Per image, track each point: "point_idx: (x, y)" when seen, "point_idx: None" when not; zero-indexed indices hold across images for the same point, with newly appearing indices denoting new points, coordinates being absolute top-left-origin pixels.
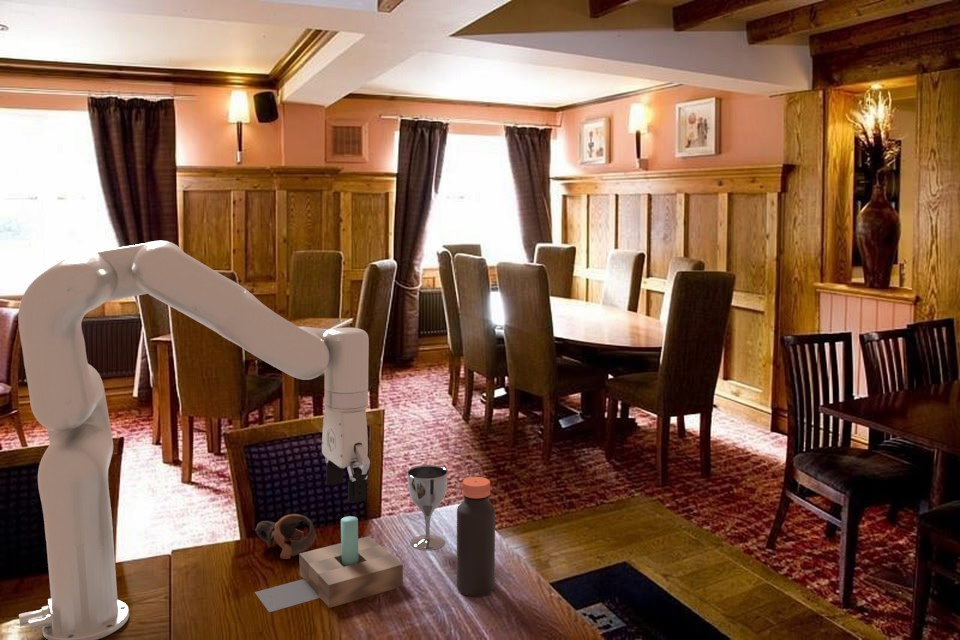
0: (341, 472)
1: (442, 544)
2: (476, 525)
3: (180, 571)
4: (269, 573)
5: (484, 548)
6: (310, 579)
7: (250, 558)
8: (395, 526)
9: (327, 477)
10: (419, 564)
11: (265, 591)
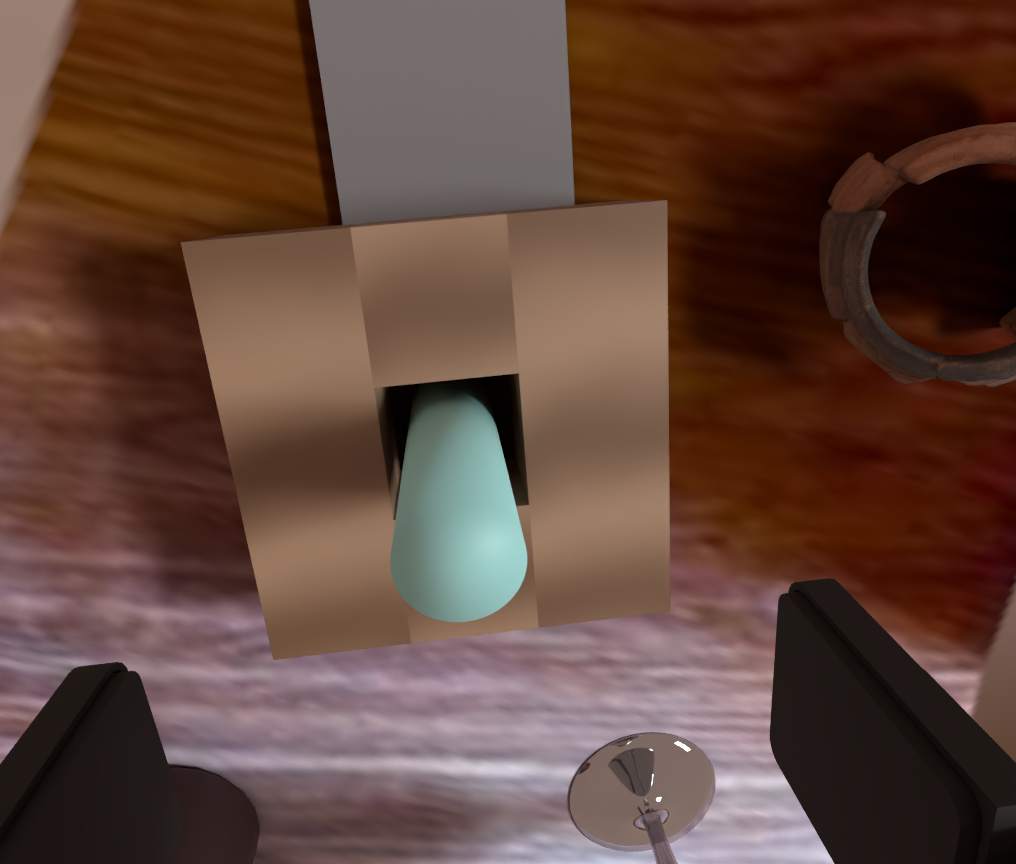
0: (838, 846)
1: (589, 834)
2: None
3: None
4: (748, 57)
5: None
6: (478, 214)
7: (976, 3)
8: None
9: (847, 644)
10: (474, 710)
11: None
